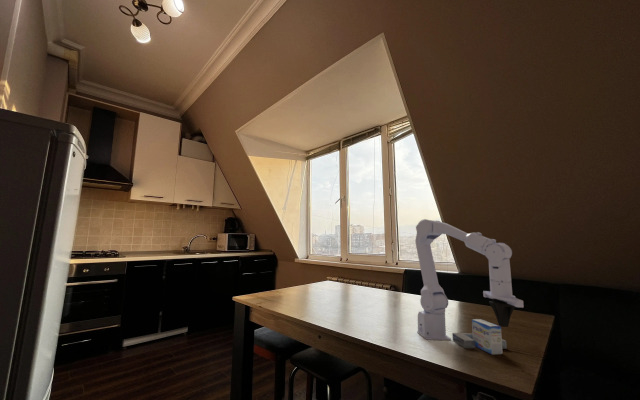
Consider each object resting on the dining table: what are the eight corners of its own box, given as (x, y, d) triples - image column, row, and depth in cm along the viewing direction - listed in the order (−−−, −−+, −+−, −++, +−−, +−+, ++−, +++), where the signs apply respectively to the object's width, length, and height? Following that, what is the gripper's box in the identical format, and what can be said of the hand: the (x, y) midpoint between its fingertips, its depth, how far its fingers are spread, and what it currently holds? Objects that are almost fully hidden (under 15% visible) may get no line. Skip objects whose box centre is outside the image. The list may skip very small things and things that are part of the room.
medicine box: (472, 345, 91) (471, 319, 93) (483, 344, 92) (481, 318, 94) (491, 355, 84) (490, 326, 85) (503, 354, 85) (501, 325, 86)
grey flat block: (464, 348, 88) (464, 340, 89) (452, 340, 95) (452, 333, 96) (506, 348, 89) (506, 340, 89) (492, 340, 96) (491, 333, 97)
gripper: (531, 285, 77) (536, 334, 74) (495, 278, 91) (498, 319, 89) (508, 284, 76) (512, 334, 74) (476, 277, 90) (478, 319, 88)
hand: (503, 326), depth 81 cm, fingers closed
